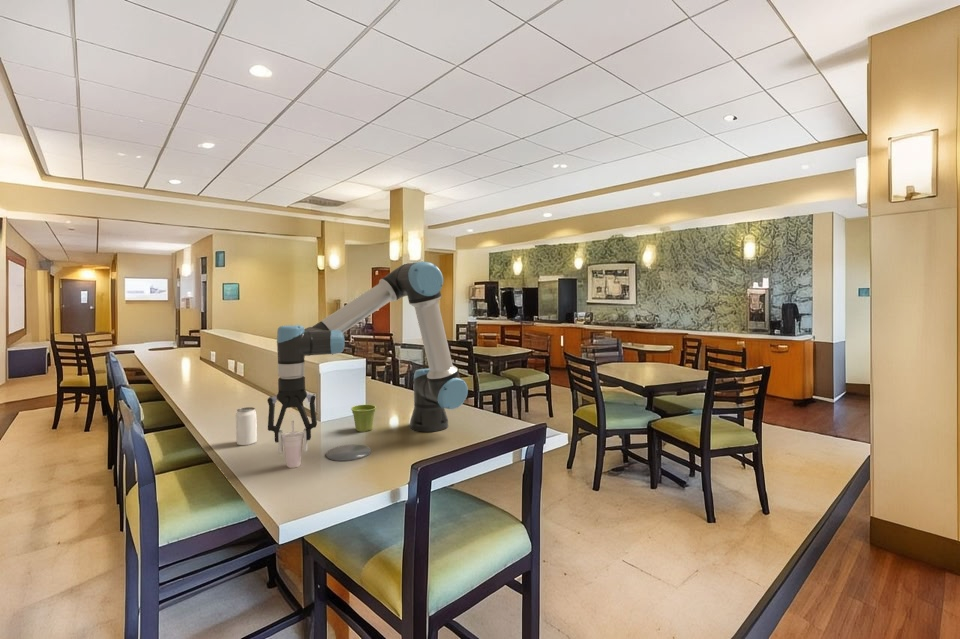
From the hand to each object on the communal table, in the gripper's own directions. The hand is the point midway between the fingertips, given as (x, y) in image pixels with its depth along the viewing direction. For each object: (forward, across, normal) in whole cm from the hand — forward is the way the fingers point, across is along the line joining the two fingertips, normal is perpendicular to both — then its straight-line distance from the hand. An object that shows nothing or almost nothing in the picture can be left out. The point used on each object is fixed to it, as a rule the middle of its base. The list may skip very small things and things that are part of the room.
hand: (293, 451), depth 141 cm
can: (+5, +19, -27) cm, 33 cm away
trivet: (+4, -16, -7) cm, 18 cm away
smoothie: (+5, 0, 0) cm, 5 cm away
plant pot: (+5, -21, -33) cm, 39 cm away
